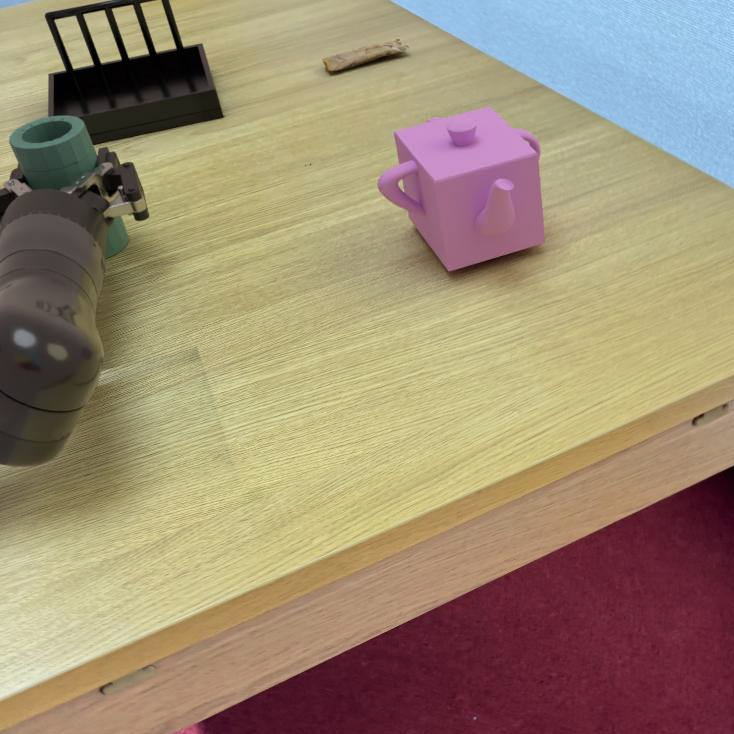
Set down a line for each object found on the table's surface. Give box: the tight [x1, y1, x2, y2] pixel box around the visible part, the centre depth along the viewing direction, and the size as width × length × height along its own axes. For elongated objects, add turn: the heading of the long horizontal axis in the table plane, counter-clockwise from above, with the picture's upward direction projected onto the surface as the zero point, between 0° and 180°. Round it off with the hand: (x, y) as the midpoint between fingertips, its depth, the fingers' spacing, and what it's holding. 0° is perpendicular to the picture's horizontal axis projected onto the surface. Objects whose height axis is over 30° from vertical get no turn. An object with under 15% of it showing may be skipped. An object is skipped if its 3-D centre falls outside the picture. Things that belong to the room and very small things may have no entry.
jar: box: [8, 115, 130, 259], centre depth 90 cm, size 6×6×10 cm
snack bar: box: [321, 38, 410, 72], centre depth 118 cm, size 10×2×3 cm
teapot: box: [376, 106, 546, 272], centre depth 85 cm, size 18×14×10 cm
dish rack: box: [44, 0, 225, 145], centre depth 111 cm, size 17×14×9 cm
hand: (67, 165), depth 91 cm, fingers closed on jar, 6 cm apart
